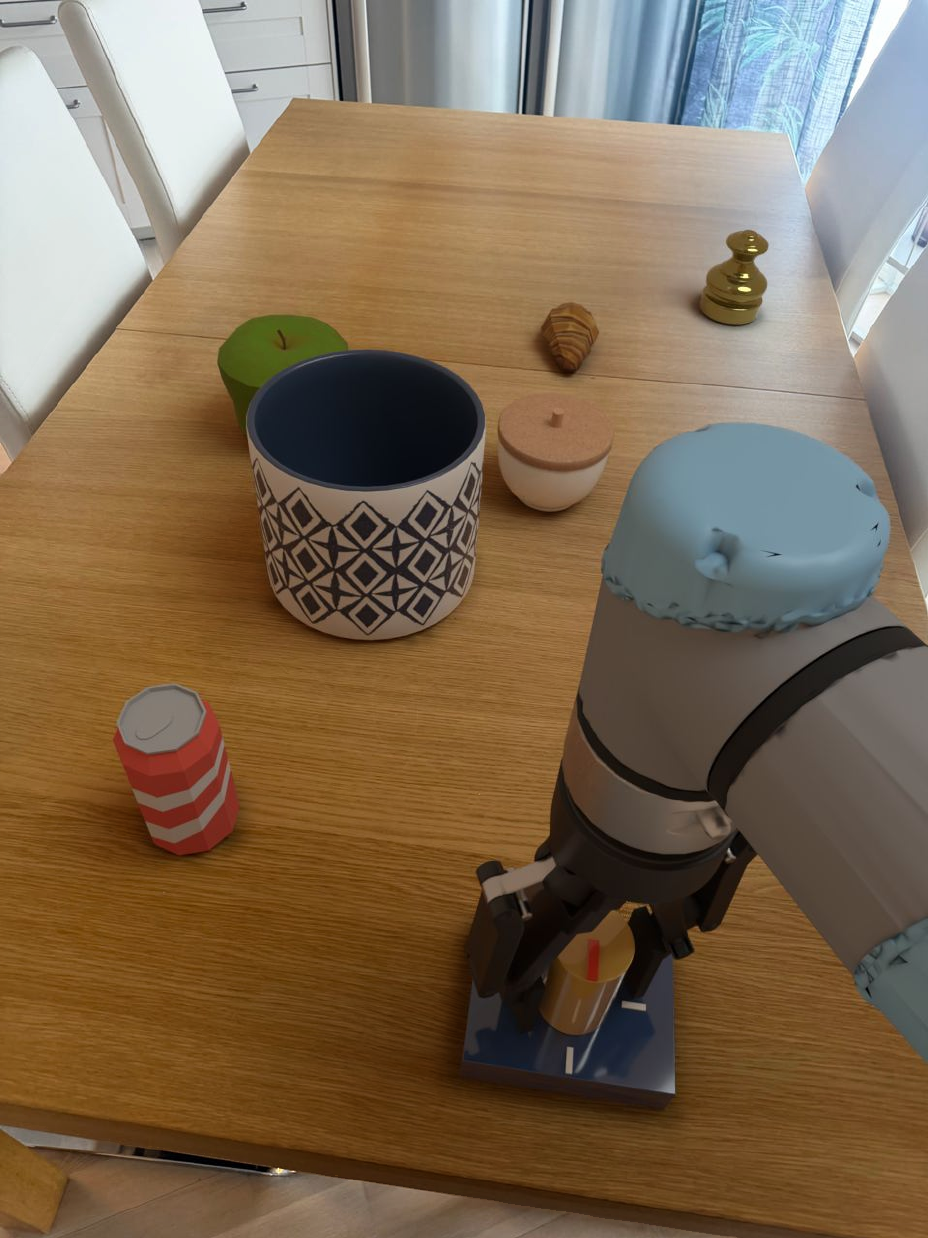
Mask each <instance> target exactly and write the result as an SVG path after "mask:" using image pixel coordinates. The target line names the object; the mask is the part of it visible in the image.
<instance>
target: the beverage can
mask: <svg viewBox="0 0 928 1238" xmlns="http://www.w3.org/2000/svg"><path fill="white" fill-rule="evenodd" d="M116 725H117V728H116V731H115V734H114V736H113V737H112V743H113V745H114V748H115V750H116V752H117V755H118V757H119V760H120V762H121V765H122V767H123V770H124V772H125V775H126V777H127V779H128V782H129V785H130V787H131V789H132V792H133V795H134V797H135V800H136V802H137V805H138V807H139V810H140V812H141V815H142V817H143V819H144V822H145V824H146V827H147V829H148V832H149V834H150V837H151V839H152V842H153V844H154V845H156V846H158V847H160V848H162V849H164V850H166V851H168V852H171V853H172V854H175V855H177V856H184V855H189V854H196V853H203V852H207V851H210V850H211V849H213V848H214V847H215V846H216V845H217V844H219V843H221V841H223V840H224V839H225V838H226V837H228V836H229V835H230V834H231V833H232V832H233V830H234V827H235V825H236V820H237V817H238V814H239V810H240V808H241V805H240V802H239V797H238V793H237V789H236V785H235V780H234V776H233V773H232V769H231V766H230V765H231V764H230V760H229V756H228V753H227V749H226V744H225V741H224V737H223V733H222V728H221V725H220V722H219V721H218V719H217V716H216V715H215V712H214V711H213V708H212V707H211V705H210V702H208V701H207V700H204V699H202V698H201V697H200V695H199V693H198V691H195V690H193V689H191V688H188V687H186V686H183V685H181V684H179V683H177V682H173V683H172V682H171V683H167V684H158V685H150V686H147V687H145V688H144V689H142V690H141V691H140V692H138V693H137V694H135V695H134V696H132V697H131V698H129V699H127V700H126V701H125V703H124V705H123V707H122V709H121V712H120V714H119V716H118V719H117V721H116Z"/></svg>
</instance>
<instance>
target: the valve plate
mask: <svg viewBox="0 0 928 1238" xmlns="http://www.w3.org/2000/svg"><path fill="white" fill-rule="evenodd" d="M471 977H472V976H471ZM674 994H675V991H674V958H673V956H672V954H670V955H669V956H668V957H667V958H665V959H663V960H662V962H661V964H660V966H659V968H658V970H657V972H656V974H655V976H654V978H653V980H652V981H651V983H650V985H649V987H648V989H647V991H646V993H645V995H644V997H641V998H637V999H634V1000H632V999H631V997H630V994H629V992H628V990H627V987H626V985H625V982H624V980H623V982H622V984H621V987H620V989H619V991H618V993H617V995H616V997H615V1000H614V1002H613V1004H612V1006H611V1008H610V1010H609V1013H608V1015H607V1017H606V1019H605V1020H604V1022H603V1023H602V1024H601V1025H600V1026H599V1027H598V1028H597V1029H595V1030H594V1031H592V1032H590V1033H587V1034H583V1035H570V1034H566V1033H563V1032H561V1031H559V1030H557V1029H555V1028H554V1027H552V1026H551V1025H550V1024H549V1023H548V1022H547V1021H546V1020H545V1019H544V1017H543V1016H542V1014H541V1012H540V1010H539V1011H538V1014H537V1017H536V1020H535V1024H534V1027H533V1030H532V1031H530V1032H527V1033H524V1034H520V1033H519V1030H518V1027H517V1024H516V1021H515V1018H514V1015H513V1012H512V1009H511V1006H507V1007H505V1006H504V1005H503V1004H502V1001H501V998H500V995H499V992H498V993H497V994H495V995H494V996H492V997H489V998H480V997H479V996H478V993H477V990H476V987H475V984H474V981H473V977H472V979H471V986H470V993H469V1002H468V1009H467V1017H466V1026H465V1033H464V1040H463V1048H462V1056H461V1062H460V1063H461V1064H460V1071H459V1077H460V1078H464V1079H470V1080H476V1081H477V1080H478V1081H483V1082H490V1083H495V1084H502V1085H507V1086H514V1087H521V1088H527V1089H532V1090H539V1091H546V1092H552V1093H559V1094H563V1095H570V1096H577V1097H583V1098H590V1099H595V1100H601V1101H608V1102H613V1103H620V1104H625V1105H632V1106H633V1105H634V1106H638V1107H646V1108H652V1109H657V1110H663V1111H665V1109H666V1108H667V1107H668V1105H669V1104H670V1102H672V1100H673V1099H674V1097H675V1096H676V1054H675V1053H676V1047H675V1046H676V1045H675V1042H676V1041H675V995H674Z"/></svg>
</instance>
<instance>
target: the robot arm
mask: <svg viewBox="0 0 928 1238" xmlns="http://www.w3.org/2000/svg"><path fill="white" fill-rule="evenodd" d="M891 526H892V525H891V517H890V514H889V512H888V510H887V508H886V507H885V506H884V505H883V503H881V501H880V498H879V497H878V494H877V490H876V484H875V482H874V481H873V479H872V478H871V477H870V476H869V474H868V473H866V471H865V470H863V468H862V467H861V466H859V465H858V464H857V463H856V462H855V461H854V460H852V459H851V458H850V457H848V456H847V455H845V454H844V453H843V452H842V451H840V450H838V449H837V448H835V447H833V446H831V445H829V444H828V443H826V442H824V441H821V440H819V439H817V438H815V437H813V436H810V435H808V434H806V433H805V434H804V433H802V432H799V431H795V430H793V429H788V428H784V427H780V426H775V425H771V424H765V423H758V422H743V421H741V422H739V421H735V422H733V421H732V422H717V423H710V424H707V425H704V426H702V427H700V428H697V429H695V430H692V431H685V432H681V433H677V434H676V435H674V436H672V437H669V438H667V439H666V440H664V441H662V442H661V443H659V444H658V445H656V446H655V447H653V448H652V450H650V452H649V453H648V454H647V455H646V456H645V457H644V458H643V459H642V460H641V462H640V463H639V464H638V466H637V468H636V469H635V470H634V472H633V475H632V477H631V479H630V481H629V484H628V487H627V490H626V493H625V496H624V500H623V502H622V505H621V508H620V511H619V514H618V517H617V520H616V523H615V526H614V529H613V532H612V535H611V538H610V541H609V542H608V543H607V545H606V546H605V548H604V550H603V552H602V556H601V564H600V571H601V575H602V577H601V581H600V585H599V591H598V595H597V600H596V605H595V609H594V614H593V619H592V623H591V628H590V633H589V636H588V642H587V646H586V647H587V648H586V652H585V656H584V661H583V665H582V669H581V673H580V679H579V683H578V687H577V691H576V695H575V699H574V701H573V706H572V710H571V713H570V718H569V722H568V726H567V729H566V734H565V737H564V741H563V748H562V757H561V759H560V763H559V769H558V772H557V776H556V781H555V785H554V790H553V793H552V798H551V803H550V812H549V835H548V836H547V838H546V839H545V840H544V841H543V842H542V843H541V844H540V845H539V846H538V848H537V849H536V851H535V854H534V856H533V857H534V858H533V862H532V863H528V864H526V865H523V866H521V867H518V868H516V867H514V866H509V867H506V868H505V869H504V867H503V864H502V862H501V861H500V860H488V861H486V862H484V863H482V864H480V865H479V866H477V868H476V869H475V874H476V877H477V879H478V883H479V886H480V889H481V892H480V896H479V899H478V902H477V906H476V909H475V913H474V916H473V919H472V922H471V926H470V929H469V933H468V936H467V940H466V943H465V945H464V949H463V950H464V955H465V957H466V961H467V964H468V967H469V970H470V975H471V977H473V981H474V984H475V987H476V990H477V993H478V996H479V997H480V998H489V997H492V996H494V995H495V994H497V993H498V992H499V995H500V998H501V1001H502V1004H503V1005H504V1006H505V1007H507V1006H511V1009H512V1012H513V1015H514V1018H515V1021H516V1024H517V1027H518V1030H519V1033H520V1034H524V1033H527V1032H530V1031H532V1030H533V1027H534V1024H535V1020H536V1017H537V1014H538V1011H539V1007H540V1004H541V1001H542V998H543V994H544V991H545V985H544V982H543V979H542V977H541V975H542V974H543V973H544V971H545V970H546V969H547V968H548V967H549V966H550V965H551V964H552V962H553V961H554V960H555V959H556V958H557V957H558V956H559V954H560V953H561V952H562V951H563V950H564V949H565V948H566V946H567V945H568V944H569V943H570V942H571V941H572V940H573V939H574V937H575V936H576V935H577V934H582V933H589V932H592V931H593V930H594V929H595V928H596V927H597V926H598V925H599V924H600V923H601V922H602V920H603V919H604V918H605V917H606V916H607V915H608V914H609V913H610V912H611V911H613V910H615V911H619V910H620V909H621V908H622V907H623V906H624V905H625V904H626V903H627V902H628V903H633V904H637V905H638V904H639V905H642V906H640V907H636V908H633V910H632V912H631V914H630V916H629V918H628V921H627V923H628V925H629V927H630V929H631V931H632V933H633V937H634V942H635V953H634V957H633V960H632V963H631V965H630V967H629V969H628V971H627V974H626V976H625V978H624V982H625V985H626V987H627V990H628V992H629V994H630V997H631V999H632V1000H634V999H637V998H641V997H644V995H645V993H646V991H647V989H648V987H649V985H650V983H651V981H652V980H653V978H654V976H655V974H656V972H657V970H658V968H659V966H660V964H661V962H662V960H663V959H665V958H667V957H668V956H669V955H670V954H672V956H673V960H675V961H679V960H683V959H685V958H688V957H689V956H691V955H692V954H693V953H695V947H694V945H693V943H692V941H691V939H690V937H689V933H688V932H689V930H691V929H693V928H696V927H698V929H699V931H700V932H701V933H709V932H713V931H715V930H717V929H718V928H719V926H721V925H722V923H723V921H724V918H725V916H726V914H727V912H728V910H729V907H730V905H731V903H732V901H733V898H734V897H735V894H736V892H737V889H738V888H739V885H740V883H741V881H742V878H743V876H744V874H745V872H746V870H747V867H748V865H749V864H750V863H751V862H752V861H753V860H754V859H756V857H757V856H759V858H760V859H761V861H762V862H763V863H764V864H765V865H766V867H767V868H768V869H769V871H770V872H771V873H772V875H773V876H774V877H775V879H776V880H777V881H778V883H779V884H780V885H781V886H782V887H783V889H784V890H785V892H787V894H788V895H789V896H790V897H791V899H792V900H793V901H794V903H795V904H796V905H797V907H798V908H799V909H800V911H801V912H802V913H803V915H804V916H805V917H806V919H808V921H809V922H810V923H811V925H812V926H813V927H814V928H815V930H816V931H817V932H818V934H819V935H820V937H821V938H822V939H823V940H824V941H825V943H826V944H827V945H828V947H829V948H830V949H831V951H832V952H833V953H834V955H836V957H837V958H838V960H839V961H840V962H841V963H842V965H843V966H844V967H845V969H846V970H847V971H848V972H849V974H850V975H851V976H852V979H853V980H854V983H853V985H854V987H855V988H856V990H857V991H858V993H859V995H860V996H861V997H862V999H863V1000H864V1001H865V1002H866V1003H868V1005H869V1007H872V1006H873V1007H874V1008H875V1009H876V1010H877V1011H879V1012H881V1014H882V1015H883V1016H884V1017H885V1018H886V1020H888V1022H889V1023H890V1024H891V1025H892V1026H893V1027H894V1028H895V1029H896V1031H897V1032H898V1034H900V1035H901V1036H902V1038H903V1039H904V1040H905V1041H906V1042H907V1043H908V1044H909V1045H910V1047H912V1049H913V1050H914V1051H915V1052H916V1053H917V1054H918V1055H919V1057H920V1059H922V1060H923V1062H925V1064H926V1065H928V644H926V642H924V640H922V639H921V638H920V637H918V636H917V635H916V634H915V633H914V632H913V631H912V630H911V629H910V628H909V627H908V626H907V625H906V624H905V622H903V621H902V620H901V619H900V618H899V617H898V616H897V615H896V614H895V613H894V612H893V611H891V610H890V609H889V608H887V607H886V606H885V605H884V604H883V603H882V602H880V601H879V599H877V597H875V596H874V595H873V594H874V593H875V587H877V586H878V584H879V583H880V577H881V571H882V570H883V569H884V564H883V562H884V560H885V557H886V554H887V551H888V549H889V546H890V545H889V544H890V540H891V532H892V527H891ZM647 905H648V906H649V908H650V910H651V913H650V911H649V909H648V907H647Z"/></svg>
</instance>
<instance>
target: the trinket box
mask: <svg viewBox="0 0 928 1238" xmlns="http://www.w3.org/2000/svg"><path fill="white" fill-rule="evenodd" d="M496 432H497V444H496V445H497V447H496V448H497V449H496V451H497V452H496V453H497V461H498V467H499V472H500V473H501V476H502V479H503V481H504V483H505V484H506V487H508V489H509V490H510V491H511V493H512V494H514V495H515V496H516V497H517V498H518V499H519V500H520V502H522V503H523V504H524V505H526V506H527V507H529V508H532V509H533V510H536V511H542V512H550V513H551V512H559V511H563V510H566V509H569V508H570V507H571V506H573V505H575V504H577V503H579V502H580V501H583V500H584V499H585V498H587V496H589V495H590V494H591V493H592V492H593V490H594V489H595V488H596V486H597V485H598V484H599V482H600V480H601V478H602V476H603V474H604V472H605V469H606V468H607V463H608V461H609V456H610V451H611V449H612V447H613V443H614V439H615V430H614V426H613V423H612V421H611V420H610V418H609V416H607V414H606V412H604V411H603V410H601V408H599V407H598V406H596V405H595V404H593V403H591V402H589V401H587V400H584V399H583V398H580V397H576V396H572V395H569V394H563V393H553V392H551V393H549V392H544V393H533V394H530V395H526V396H523V397H520V398H518V399H515V400H514V401H512V402H511V403H509V404H508V405H507V406H506V407H505V408H504V409H503V410H502V411H501V412H500V415H499V417H498V419H497V431H496Z"/></svg>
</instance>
